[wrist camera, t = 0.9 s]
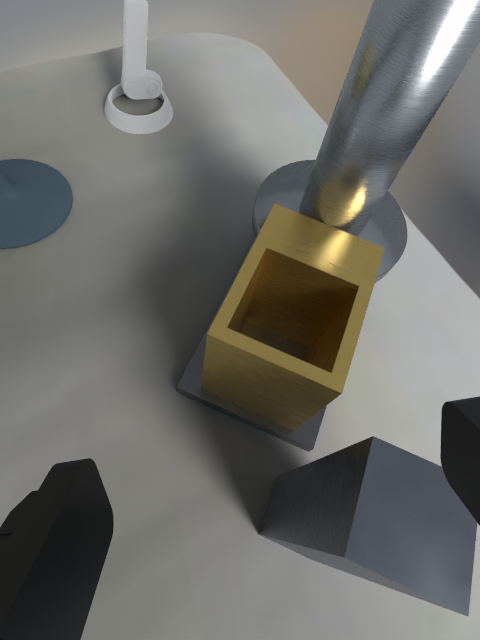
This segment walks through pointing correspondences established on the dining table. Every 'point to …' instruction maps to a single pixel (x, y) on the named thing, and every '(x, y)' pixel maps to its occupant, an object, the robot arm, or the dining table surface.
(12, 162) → the cocktail glass
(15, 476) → the dining table surface
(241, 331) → the flanged pole stand
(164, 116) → the white vr controller
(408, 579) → the grey square peg
